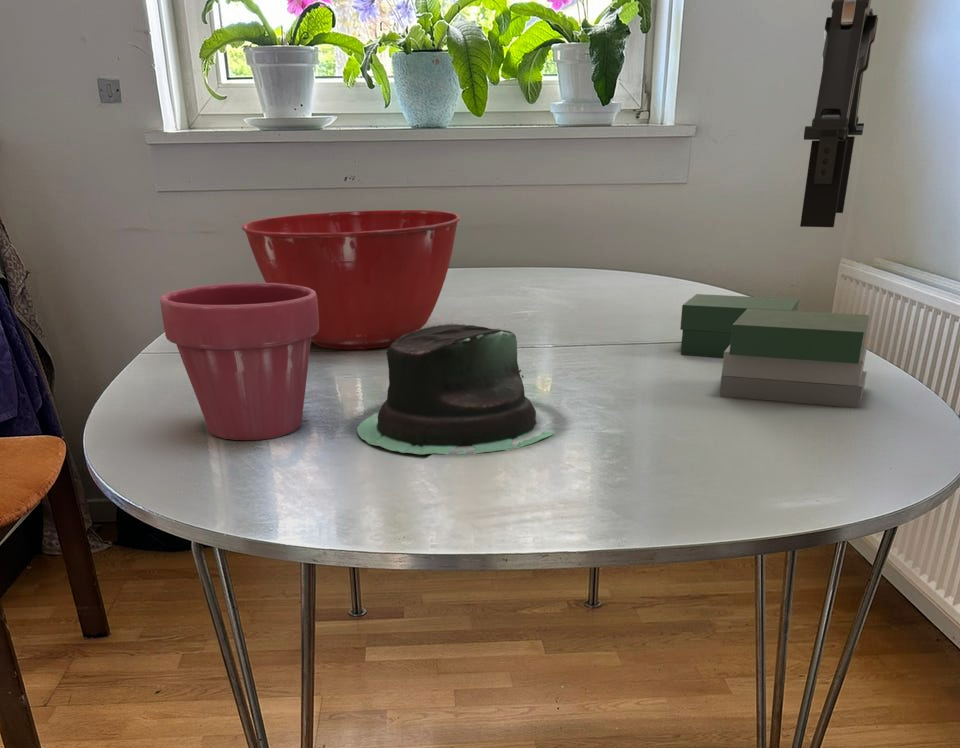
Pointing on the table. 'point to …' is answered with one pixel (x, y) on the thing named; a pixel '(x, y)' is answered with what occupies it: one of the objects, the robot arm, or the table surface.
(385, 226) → the mixing bowl
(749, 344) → the green book
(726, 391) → the grey pile
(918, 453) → the table surface
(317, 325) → the flower pot
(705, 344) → the green pile
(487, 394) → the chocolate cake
